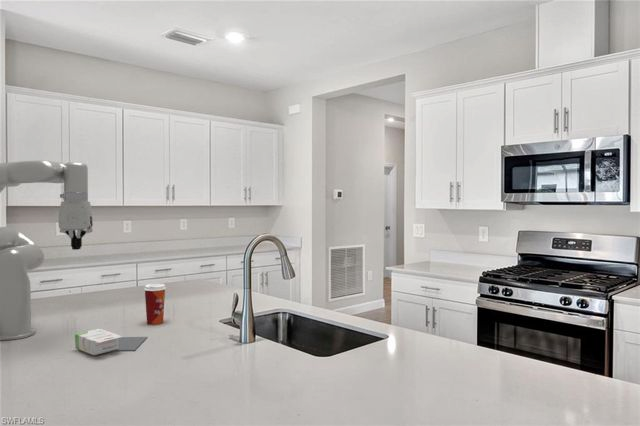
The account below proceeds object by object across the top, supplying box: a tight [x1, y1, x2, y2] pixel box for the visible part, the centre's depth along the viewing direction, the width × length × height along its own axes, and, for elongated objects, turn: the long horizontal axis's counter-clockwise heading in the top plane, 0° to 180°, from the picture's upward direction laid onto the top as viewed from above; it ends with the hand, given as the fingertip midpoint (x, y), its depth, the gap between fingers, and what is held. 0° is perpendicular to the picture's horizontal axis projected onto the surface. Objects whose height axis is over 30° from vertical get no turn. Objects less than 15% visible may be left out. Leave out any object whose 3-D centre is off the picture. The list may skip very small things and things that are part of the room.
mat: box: [112, 336, 148, 352], centre depth 155 cm, size 15×14×1 cm
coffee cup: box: [143, 283, 167, 326], centre depth 183 cm, size 8×8×15 cm
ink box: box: [74, 328, 123, 356], centre depth 149 cm, size 9×5×15 cm
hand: (76, 249), depth 164 cm, fingers closed
